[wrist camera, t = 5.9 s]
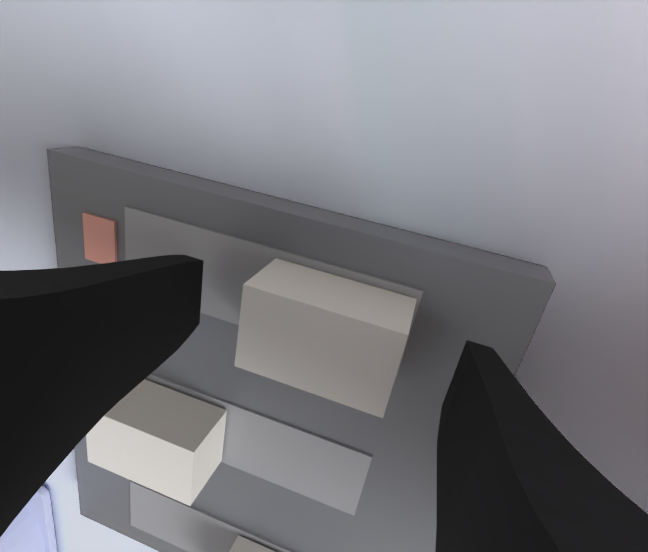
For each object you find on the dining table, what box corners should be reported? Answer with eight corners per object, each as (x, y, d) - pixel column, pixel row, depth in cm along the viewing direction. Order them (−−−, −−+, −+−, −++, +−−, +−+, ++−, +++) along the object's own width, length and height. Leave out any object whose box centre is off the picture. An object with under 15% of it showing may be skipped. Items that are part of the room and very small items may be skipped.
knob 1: (129, 423, 16) (87, 461, 14) (128, 372, 15) (83, 407, 13) (221, 460, 15) (190, 506, 14) (226, 410, 14) (193, 452, 13)
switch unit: (99, 493, 21) (78, 516, 20) (78, 146, 14) (44, 149, 13) (391, 625, 18) (387, 661, 17) (546, 266, 11) (556, 284, 10)
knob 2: (265, 330, 13) (234, 365, 11) (276, 258, 12) (243, 284, 10) (394, 372, 12) (382, 418, 10) (417, 298, 11) (408, 335, 9)
